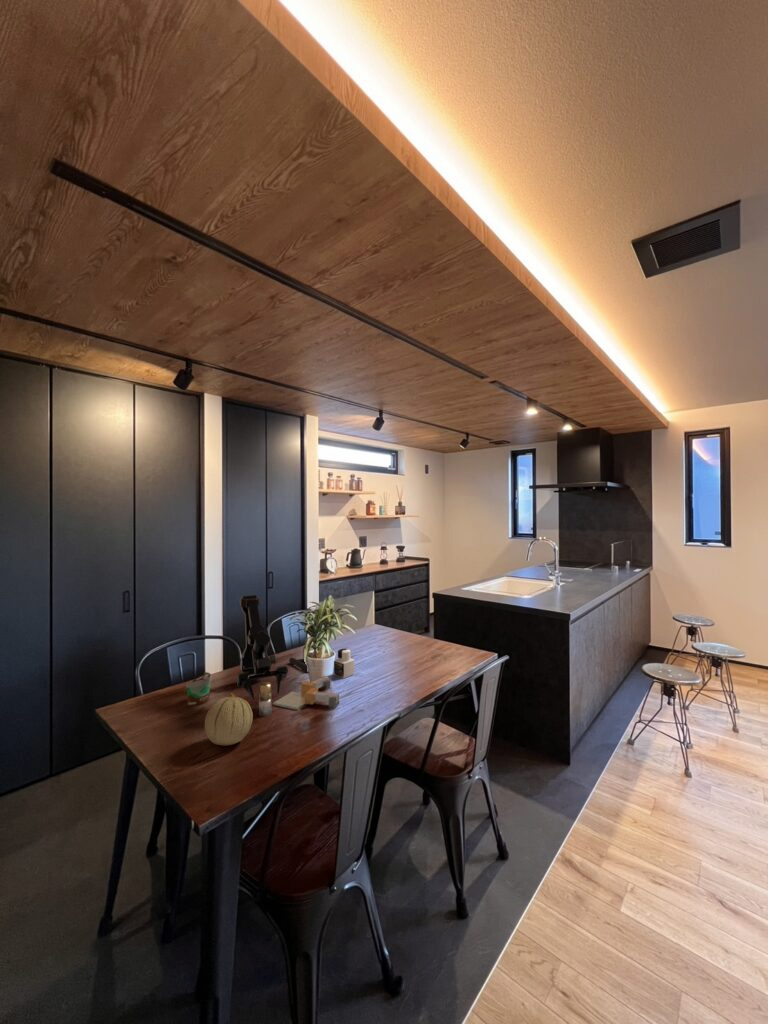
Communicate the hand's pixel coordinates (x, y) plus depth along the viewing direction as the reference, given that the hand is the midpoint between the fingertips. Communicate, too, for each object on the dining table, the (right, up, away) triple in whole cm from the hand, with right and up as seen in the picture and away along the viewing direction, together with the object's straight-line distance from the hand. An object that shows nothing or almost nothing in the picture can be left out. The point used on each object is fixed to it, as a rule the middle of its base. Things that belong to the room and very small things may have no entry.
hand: (265, 696), depth 155 cm
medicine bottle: (+26, -8, +41) cm, 49 cm away
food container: (-29, -8, +12) cm, 33 cm away
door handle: (+7, -9, +55) cm, 56 cm away
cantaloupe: (-6, -6, -20) cm, 22 cm away
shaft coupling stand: (+17, -7, +14) cm, 23 cm away
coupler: (-1, -7, +1) cm, 7 cm away
